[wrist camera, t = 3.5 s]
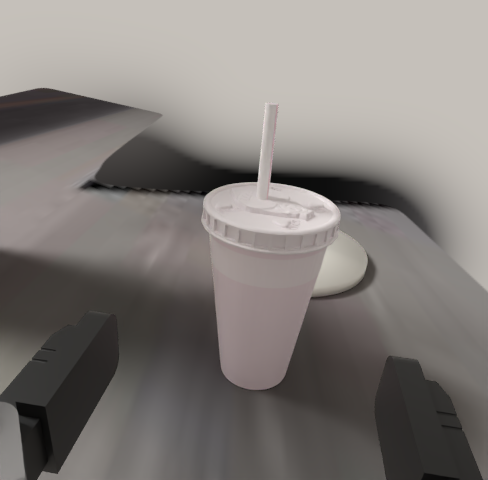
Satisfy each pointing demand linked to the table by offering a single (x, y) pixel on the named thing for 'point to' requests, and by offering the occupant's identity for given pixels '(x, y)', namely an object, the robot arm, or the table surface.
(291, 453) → the table surface
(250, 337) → the smoothie
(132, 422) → the table surface
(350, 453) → the table surface
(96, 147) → the table surface
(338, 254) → the plate
